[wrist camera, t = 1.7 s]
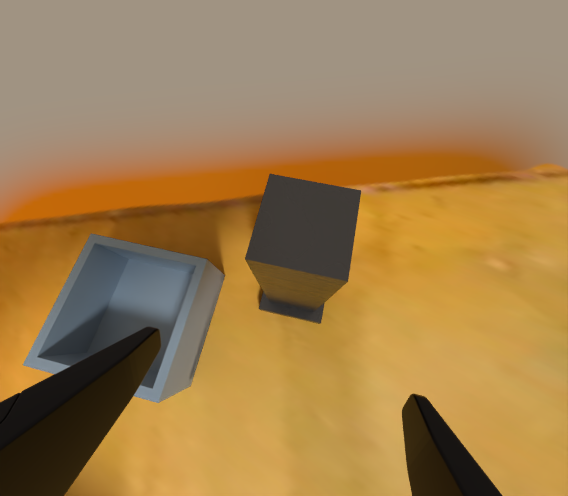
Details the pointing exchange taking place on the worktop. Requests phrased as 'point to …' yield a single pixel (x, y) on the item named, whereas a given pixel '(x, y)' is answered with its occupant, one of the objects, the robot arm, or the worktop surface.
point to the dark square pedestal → (302, 245)
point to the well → (132, 311)
